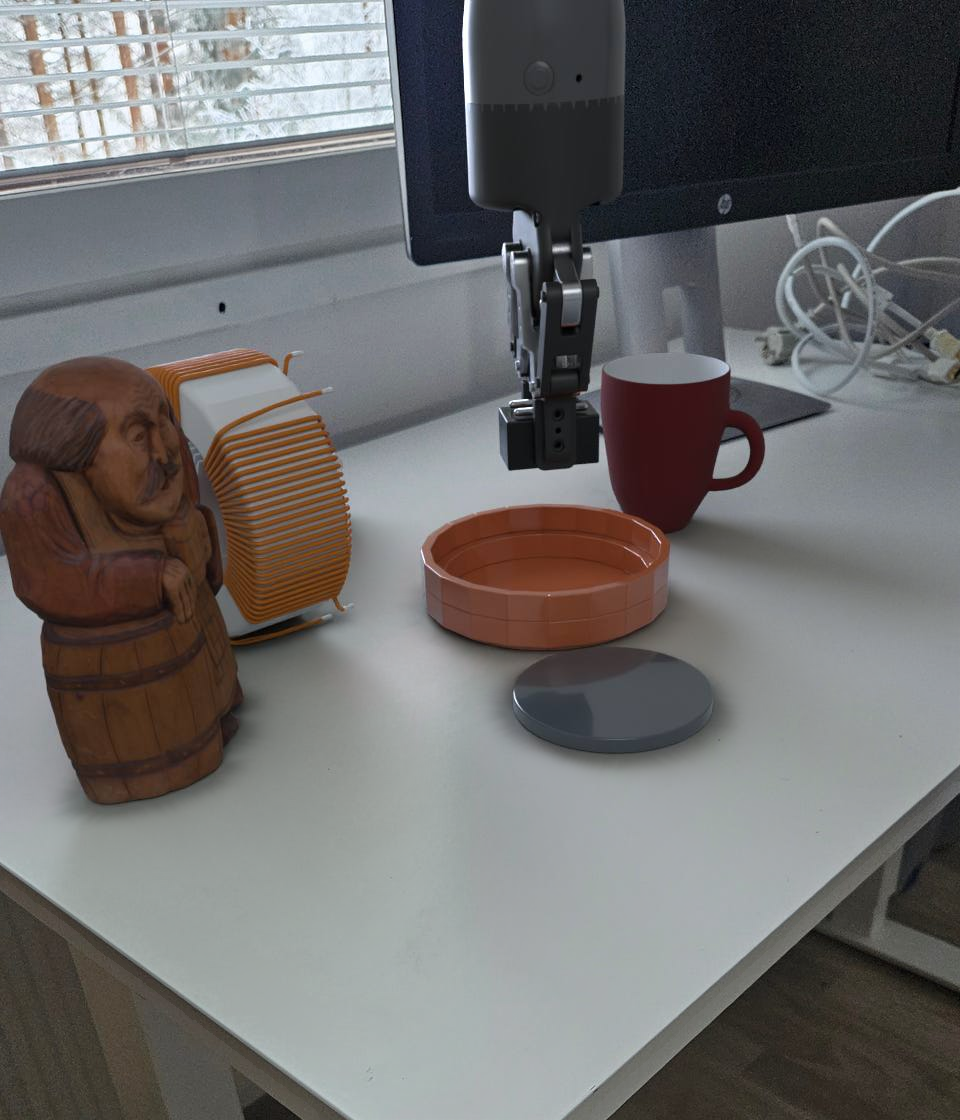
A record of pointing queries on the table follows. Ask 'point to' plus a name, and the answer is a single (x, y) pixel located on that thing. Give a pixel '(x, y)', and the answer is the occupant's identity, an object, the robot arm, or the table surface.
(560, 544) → the bowl
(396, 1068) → the table surface
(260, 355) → the coil
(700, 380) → the mug
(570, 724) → the plate
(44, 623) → the wooden figurine
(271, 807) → the table surface
